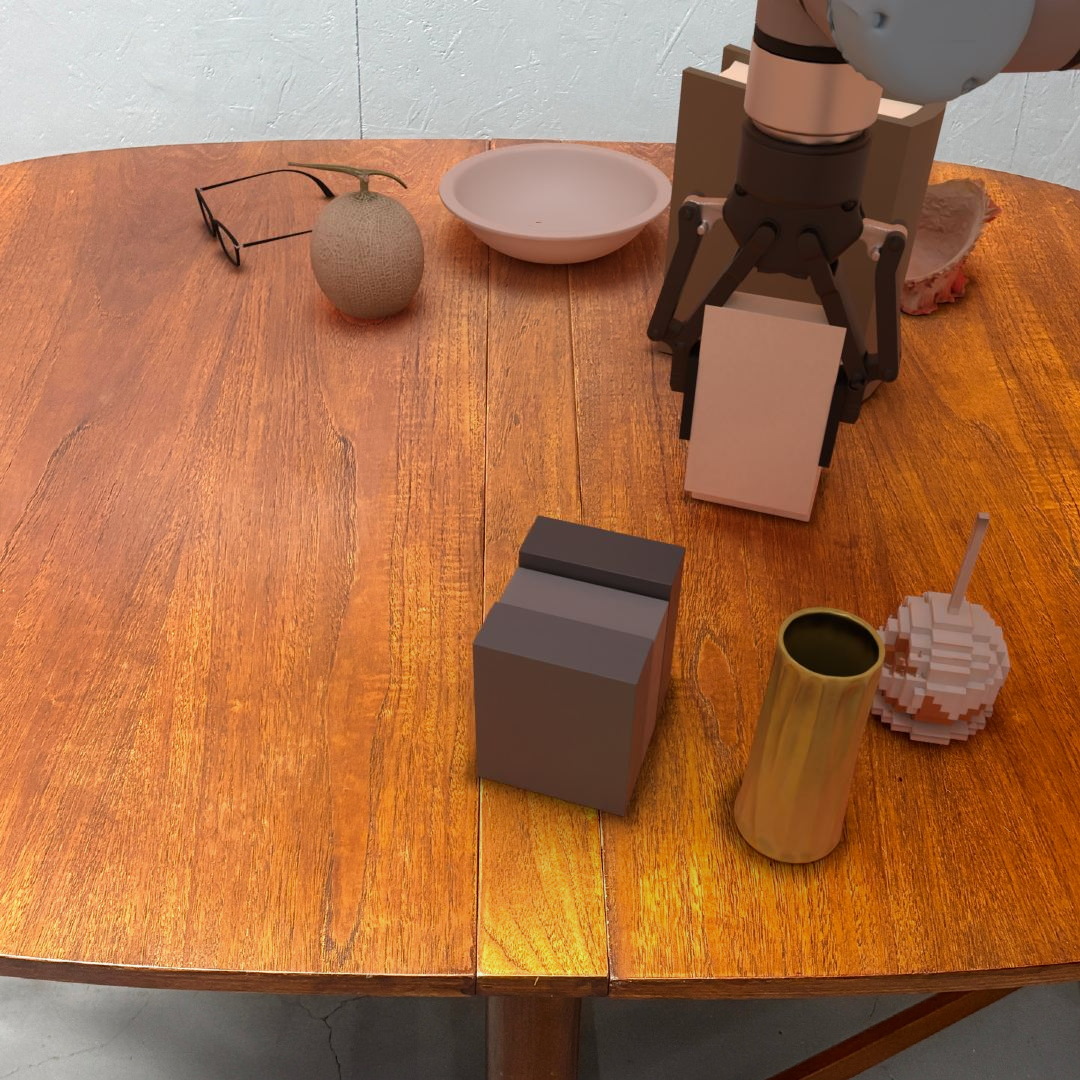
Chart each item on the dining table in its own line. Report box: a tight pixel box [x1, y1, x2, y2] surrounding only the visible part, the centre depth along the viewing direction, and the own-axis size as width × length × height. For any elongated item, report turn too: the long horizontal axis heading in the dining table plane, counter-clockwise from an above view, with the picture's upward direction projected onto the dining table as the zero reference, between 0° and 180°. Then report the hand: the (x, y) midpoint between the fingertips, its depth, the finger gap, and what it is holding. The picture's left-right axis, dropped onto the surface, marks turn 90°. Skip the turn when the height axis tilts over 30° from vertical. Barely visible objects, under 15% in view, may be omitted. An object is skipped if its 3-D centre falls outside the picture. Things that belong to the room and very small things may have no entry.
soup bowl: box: [438, 142, 672, 265], centre depth 120 cm, size 24×24×7 cm
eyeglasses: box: [194, 168, 336, 268], centre depth 122 cm, size 16×16×4 cm
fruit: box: [287, 161, 425, 320], centre depth 106 cm, size 10×12×15 cm
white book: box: [683, 291, 846, 515], centre depth 78 cm, size 2×9×15 cm, turn 72°
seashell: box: [900, 177, 1003, 316], centre depth 114 cm, size 17×11×15 cm
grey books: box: [471, 514, 687, 817], centre depth 67 cm, size 11×9×12 cm
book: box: [657, 43, 948, 402], centre depth 96 cm, size 19×8×25 cm, turn 57°
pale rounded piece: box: [871, 511, 1011, 746], centre depth 68 cm, size 8×8×15 cm
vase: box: [733, 606, 885, 864], centre depth 61 cm, size 6×6×14 cm
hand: (756, 442), depth 80 cm, fingers closed on white book, 9 cm apart
